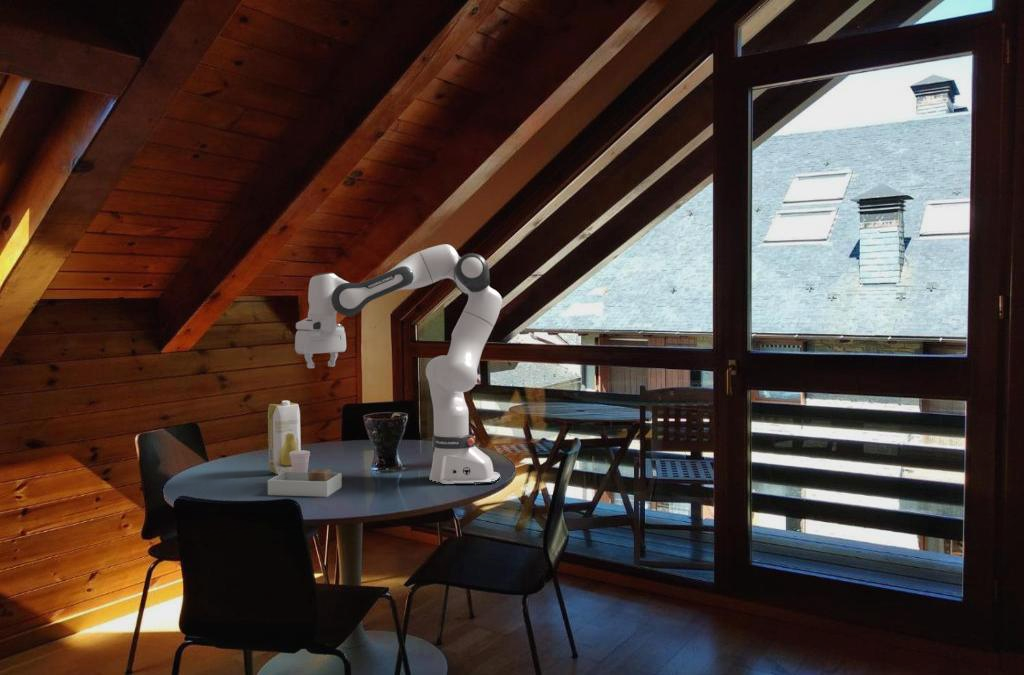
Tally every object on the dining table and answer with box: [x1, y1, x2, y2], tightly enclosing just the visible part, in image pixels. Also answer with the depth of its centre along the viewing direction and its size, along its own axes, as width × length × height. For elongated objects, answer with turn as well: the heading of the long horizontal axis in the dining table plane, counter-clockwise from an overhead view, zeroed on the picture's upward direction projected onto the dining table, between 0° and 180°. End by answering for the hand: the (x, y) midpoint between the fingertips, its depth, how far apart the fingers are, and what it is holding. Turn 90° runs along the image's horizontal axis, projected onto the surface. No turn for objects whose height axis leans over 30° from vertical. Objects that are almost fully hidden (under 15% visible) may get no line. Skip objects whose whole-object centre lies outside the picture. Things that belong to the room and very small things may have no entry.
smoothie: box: [289, 438, 311, 472], centre depth 256 cm, size 6×6×14 cm
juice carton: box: [267, 400, 302, 475], centre depth 271 cm, size 9×8×24 cm
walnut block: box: [308, 468, 332, 482], centre depth 242 cm, size 5×5×6 cm
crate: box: [267, 471, 343, 498], centre depth 242 cm, size 18×12×5 cm, turn 82°
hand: (321, 367), depth 261 cm, fingers open, 8 cm apart
